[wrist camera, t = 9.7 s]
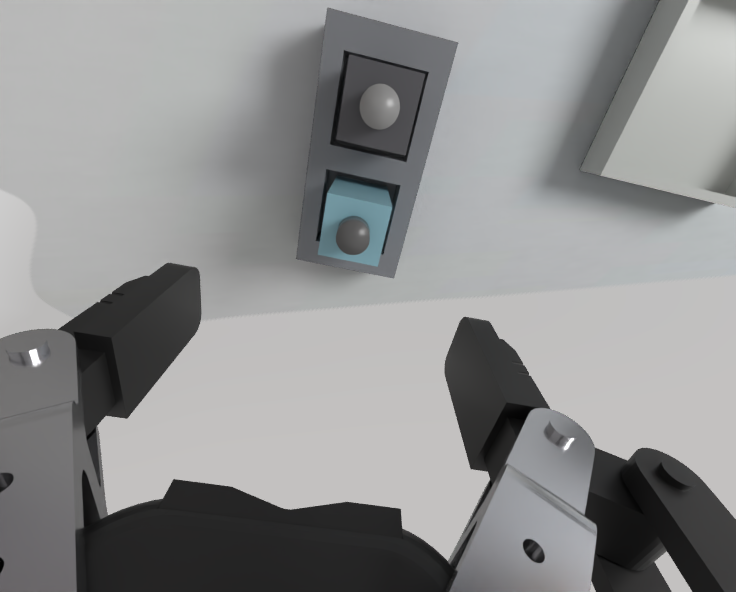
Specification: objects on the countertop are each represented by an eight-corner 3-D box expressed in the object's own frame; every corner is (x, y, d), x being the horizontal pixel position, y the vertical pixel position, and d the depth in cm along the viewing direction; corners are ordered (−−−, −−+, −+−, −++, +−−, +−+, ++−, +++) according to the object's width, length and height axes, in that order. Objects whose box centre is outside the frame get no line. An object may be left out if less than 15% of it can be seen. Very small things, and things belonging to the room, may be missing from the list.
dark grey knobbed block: (354, 71, 23) (347, 49, 16) (410, 85, 24) (430, 70, 16) (344, 134, 25) (333, 141, 18) (396, 146, 26) (408, 158, 18)
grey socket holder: (332, 22, 23) (327, 7, 20) (446, 52, 24) (458, 42, 21) (303, 244, 30) (296, 258, 27) (391, 262, 31) (393, 278, 28)
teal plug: (337, 175, 27) (324, 198, 19) (387, 186, 27) (394, 213, 19) (328, 224, 28) (314, 263, 21) (375, 234, 29) (378, 276, 21)
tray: (674, -32, 22) (714, -51, 19) (840, 19, 23) (897, 7, 20) (579, 170, 27) (600, 175, 25) (716, 203, 28) (749, 211, 26)
